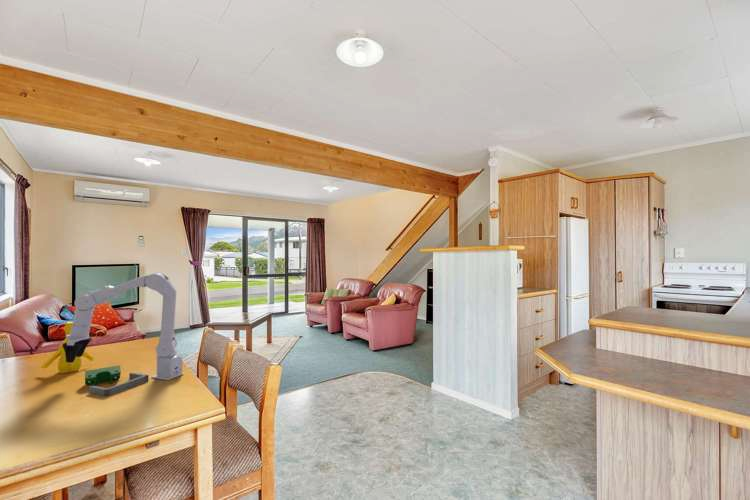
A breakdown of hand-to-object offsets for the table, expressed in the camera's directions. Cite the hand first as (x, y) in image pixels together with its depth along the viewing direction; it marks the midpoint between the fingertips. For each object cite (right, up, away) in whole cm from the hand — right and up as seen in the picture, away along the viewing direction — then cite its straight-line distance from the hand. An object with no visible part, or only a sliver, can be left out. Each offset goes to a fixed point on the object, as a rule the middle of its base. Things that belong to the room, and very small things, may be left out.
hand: (74, 359), depth 137 cm
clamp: (+9, -11, +3) cm, 15 cm away
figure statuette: (-16, -11, +17) cm, 26 cm away
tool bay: (+19, -11, -1) cm, 21 cm away
